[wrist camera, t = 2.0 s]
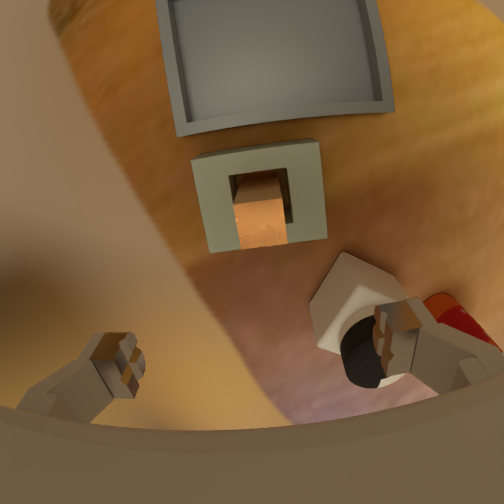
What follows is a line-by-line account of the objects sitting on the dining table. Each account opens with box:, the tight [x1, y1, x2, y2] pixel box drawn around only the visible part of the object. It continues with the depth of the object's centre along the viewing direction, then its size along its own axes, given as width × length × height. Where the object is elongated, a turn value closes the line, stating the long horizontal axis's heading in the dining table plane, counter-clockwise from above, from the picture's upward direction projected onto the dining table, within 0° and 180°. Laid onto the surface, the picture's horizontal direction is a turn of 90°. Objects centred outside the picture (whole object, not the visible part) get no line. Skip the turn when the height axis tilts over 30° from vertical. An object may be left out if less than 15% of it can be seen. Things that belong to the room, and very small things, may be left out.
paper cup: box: [423, 293, 504, 355], centre depth 28 cm, size 8×8×14 cm
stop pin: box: [233, 170, 288, 250], centre depth 25 cm, size 3×3×10 cm
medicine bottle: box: [309, 252, 409, 388], centre depth 28 cm, size 7×7×12 cm
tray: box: [155, 0, 395, 137], centre depth 22 cm, size 18×14×3 cm
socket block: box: [191, 138, 328, 253], centre depth 27 cm, size 10×8×4 cm
